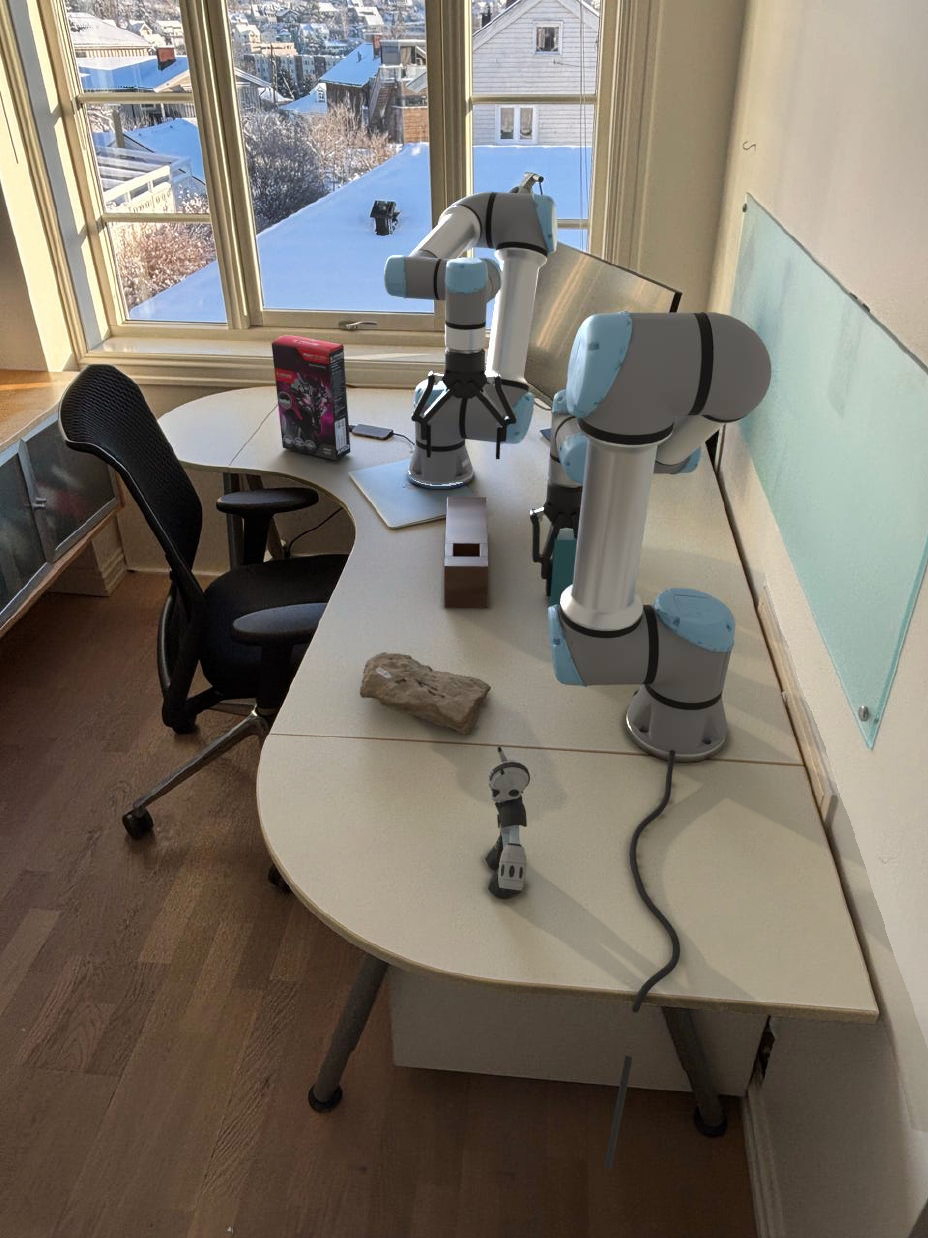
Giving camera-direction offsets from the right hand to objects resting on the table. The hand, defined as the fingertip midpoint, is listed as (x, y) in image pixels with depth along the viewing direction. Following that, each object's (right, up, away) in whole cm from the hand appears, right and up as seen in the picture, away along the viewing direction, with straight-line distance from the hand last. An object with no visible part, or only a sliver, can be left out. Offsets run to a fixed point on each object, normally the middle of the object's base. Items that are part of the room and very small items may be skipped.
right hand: (560, 592), depth 173 cm
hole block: (-18, +5, +10) cm, 21 cm away
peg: (0, -1, +1) cm, 2 cm away
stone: (-25, -19, -25) cm, 40 cm away
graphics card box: (-55, +37, +57) cm, 87 cm away
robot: (-13, -38, -54) cm, 67 cm away
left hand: (-18, +27, +9) cm, 34 cm away
